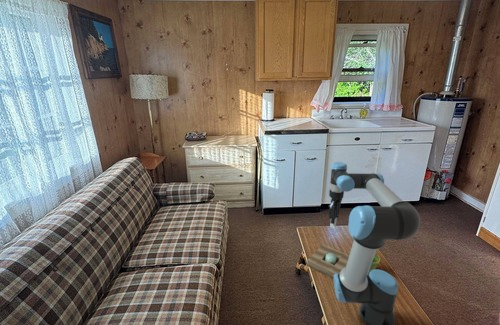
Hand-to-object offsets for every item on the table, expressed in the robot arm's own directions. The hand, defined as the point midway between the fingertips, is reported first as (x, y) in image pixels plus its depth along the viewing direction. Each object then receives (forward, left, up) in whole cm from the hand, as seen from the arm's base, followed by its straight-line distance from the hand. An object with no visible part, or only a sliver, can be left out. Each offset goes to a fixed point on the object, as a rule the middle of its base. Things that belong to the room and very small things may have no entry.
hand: (332, 227), depth 152 cm
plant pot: (+8, -21, -24) cm, 33 cm away
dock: (-2, -2, -24) cm, 24 cm away
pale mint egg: (-2, -2, -23) cm, 23 cm away
